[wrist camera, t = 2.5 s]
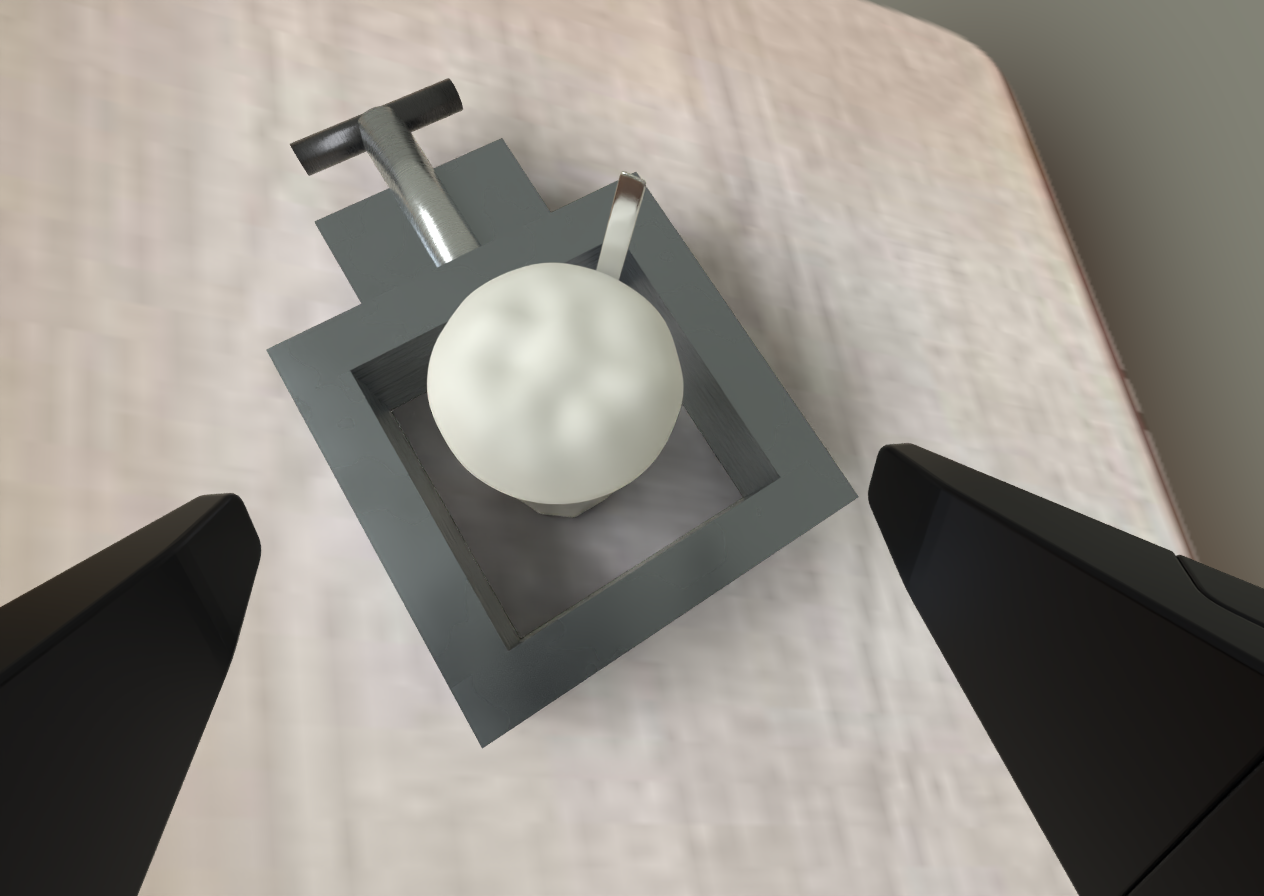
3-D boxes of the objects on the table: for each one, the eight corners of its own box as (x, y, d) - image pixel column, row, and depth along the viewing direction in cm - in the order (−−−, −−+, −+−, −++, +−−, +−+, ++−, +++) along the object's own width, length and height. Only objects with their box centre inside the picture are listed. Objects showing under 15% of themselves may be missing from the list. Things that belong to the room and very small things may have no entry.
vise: (807, 513, 19) (858, 496, 16) (500, 716, 17) (482, 748, 14) (537, 108, 22) (531, 19, 18) (237, 240, 19) (167, 166, 16)
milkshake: (667, 409, 20) (764, 231, 10) (601, 564, 18) (634, 536, 8) (539, 352, 20) (507, 119, 10) (462, 503, 18) (339, 405, 9)
